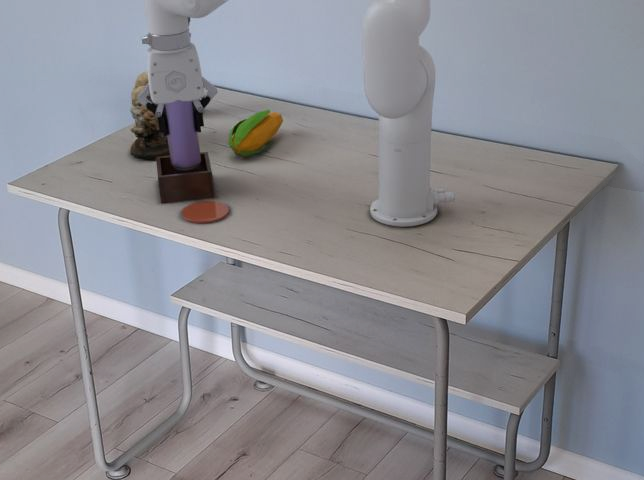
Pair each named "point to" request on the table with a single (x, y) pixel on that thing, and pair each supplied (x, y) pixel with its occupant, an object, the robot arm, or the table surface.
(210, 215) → the coaster
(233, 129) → the corn
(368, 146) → the table surface
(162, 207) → the table surface
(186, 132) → the beverage can
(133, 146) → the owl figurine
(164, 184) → the caddy
